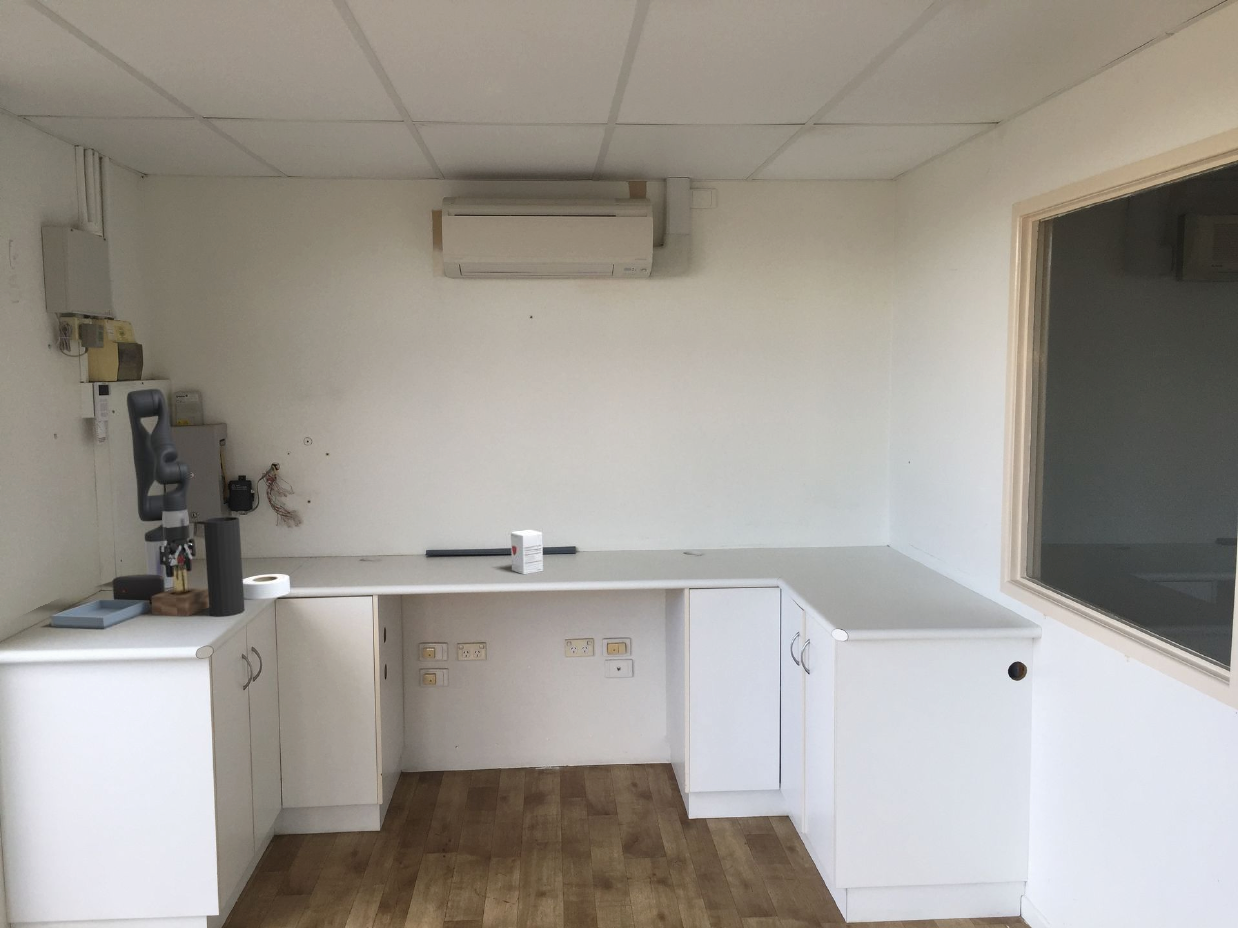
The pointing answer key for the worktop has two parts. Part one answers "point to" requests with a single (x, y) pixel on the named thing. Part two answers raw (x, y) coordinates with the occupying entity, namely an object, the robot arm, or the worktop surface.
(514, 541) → the supplement box
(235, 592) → the vase
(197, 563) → the worktop surface
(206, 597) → the walnut pin block
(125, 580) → the red-dot charcoal box
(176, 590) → the brass pin
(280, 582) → the roll of tape
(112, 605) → the slate tray
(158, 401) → the robot arm
